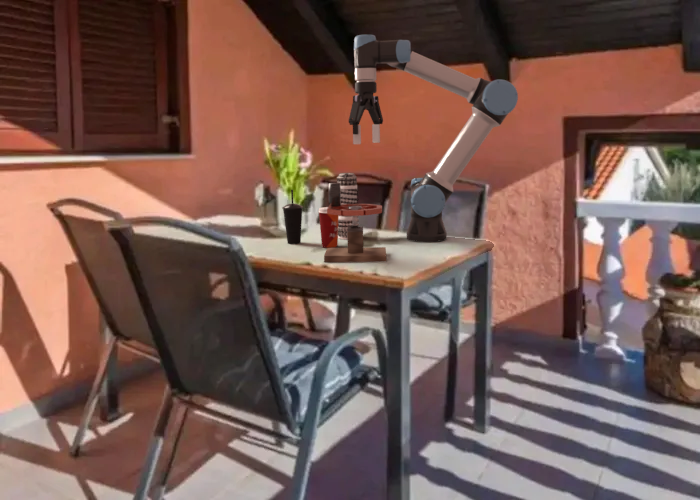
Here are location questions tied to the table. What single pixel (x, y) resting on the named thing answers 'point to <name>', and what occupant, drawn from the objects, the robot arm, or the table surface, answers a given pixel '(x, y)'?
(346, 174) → the decorative candle
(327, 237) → the paper cup
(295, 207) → the drinking cup
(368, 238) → the table surface
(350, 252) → the brown block
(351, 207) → the handwheel
